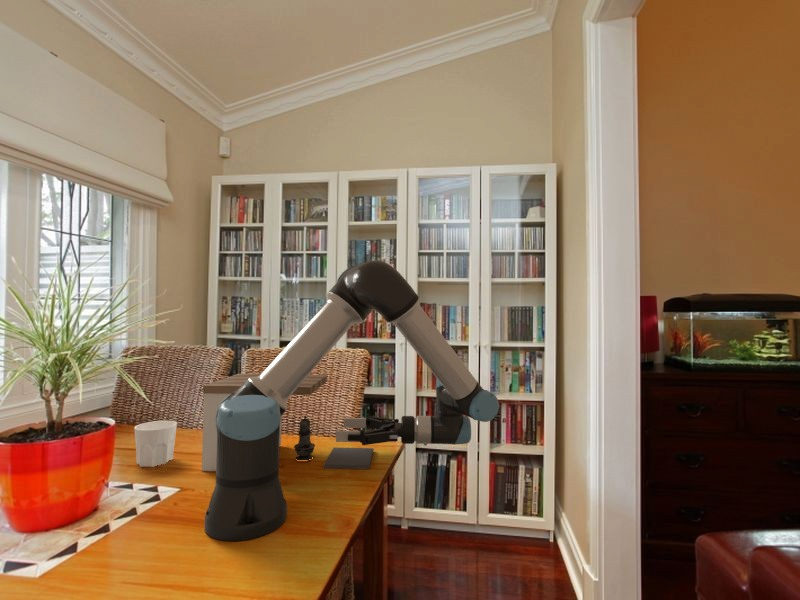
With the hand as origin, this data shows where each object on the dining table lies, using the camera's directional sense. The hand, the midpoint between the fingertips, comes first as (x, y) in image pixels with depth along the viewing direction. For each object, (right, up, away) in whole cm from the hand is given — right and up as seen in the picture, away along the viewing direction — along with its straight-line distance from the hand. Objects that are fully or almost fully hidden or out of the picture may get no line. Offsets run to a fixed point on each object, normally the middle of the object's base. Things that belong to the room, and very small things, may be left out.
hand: (340, 429), depth 116 cm
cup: (-50, -8, -4) cm, 51 cm away
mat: (+3, -8, -1) cm, 9 cm away
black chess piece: (-10, -9, 0) cm, 13 cm away
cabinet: (-20, -8, 0) cm, 22 cm away
